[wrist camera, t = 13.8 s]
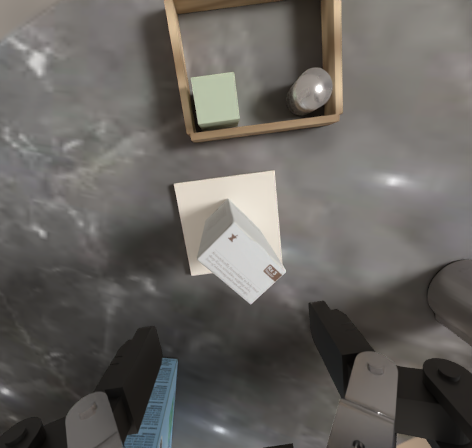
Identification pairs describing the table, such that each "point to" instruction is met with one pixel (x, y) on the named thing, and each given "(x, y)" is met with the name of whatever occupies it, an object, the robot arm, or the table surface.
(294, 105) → the grey ball
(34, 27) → the table surface
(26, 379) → the table surface
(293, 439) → the table surface
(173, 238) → the table surface
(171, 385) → the gum box
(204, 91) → the sage block
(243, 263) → the skincare box
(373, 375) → the robot arm
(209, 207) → the ceramic pad
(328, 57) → the oak corral
